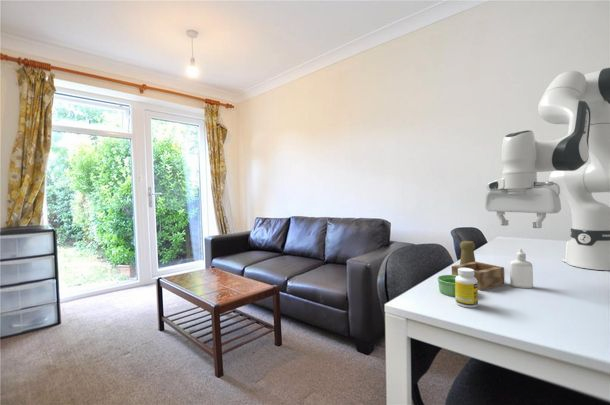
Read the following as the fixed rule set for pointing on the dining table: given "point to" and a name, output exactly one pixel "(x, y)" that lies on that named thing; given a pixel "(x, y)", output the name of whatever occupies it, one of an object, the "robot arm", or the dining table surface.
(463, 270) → the supplement bottle
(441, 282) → the ramekin
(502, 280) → the walnut holder
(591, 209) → the robot arm
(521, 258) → the eye dropper bottle
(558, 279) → the dining table surface
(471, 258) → the cork
